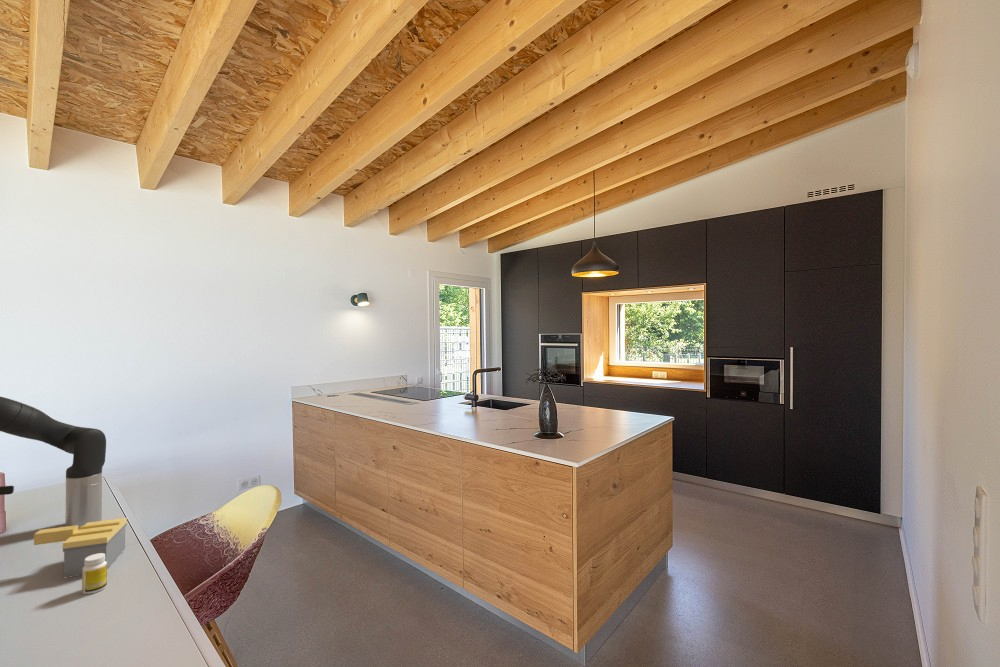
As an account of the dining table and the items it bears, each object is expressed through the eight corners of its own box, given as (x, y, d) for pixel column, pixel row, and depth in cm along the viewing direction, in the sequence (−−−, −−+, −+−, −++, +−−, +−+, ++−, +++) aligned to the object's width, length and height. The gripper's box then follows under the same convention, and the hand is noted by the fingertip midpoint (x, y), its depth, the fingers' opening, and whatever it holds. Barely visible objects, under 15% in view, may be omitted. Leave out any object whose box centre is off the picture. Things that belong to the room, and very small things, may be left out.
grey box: (87, 554, 134) (87, 527, 134) (126, 548, 138) (126, 522, 138) (62, 578, 121) (62, 548, 121) (106, 571, 124) (106, 542, 124)
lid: (50, 532, 131) (51, 522, 131) (126, 522, 138) (126, 512, 138) (21, 554, 117) (21, 543, 117) (107, 542, 124) (107, 531, 124)
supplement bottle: (111, 586, 117) (111, 554, 117) (89, 596, 113) (90, 562, 113) (99, 582, 119) (99, 551, 119) (77, 592, 114) (77, 559, 114)
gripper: (-102, 492, 108) (-8, 487, 116) (-63, 478, 121) (19, 473, 128) (-106, 524, 108) (-12, 516, 115) (-67, 506, 120) (16, 500, 128)
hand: (5, 494), depth 122 cm, fingers open, 8 cm apart
